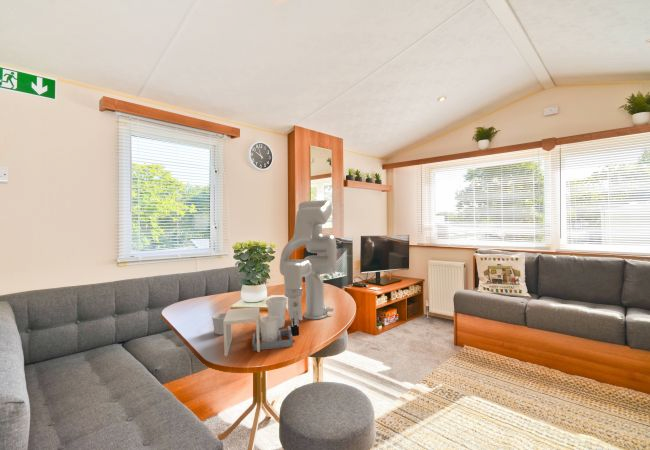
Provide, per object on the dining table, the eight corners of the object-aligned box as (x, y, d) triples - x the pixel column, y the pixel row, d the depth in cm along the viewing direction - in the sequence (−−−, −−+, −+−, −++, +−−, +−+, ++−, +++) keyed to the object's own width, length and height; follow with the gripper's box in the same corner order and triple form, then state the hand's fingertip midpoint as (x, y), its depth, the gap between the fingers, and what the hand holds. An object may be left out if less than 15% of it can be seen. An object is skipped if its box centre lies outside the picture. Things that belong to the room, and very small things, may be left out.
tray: (290, 334, 134) (289, 325, 134) (292, 346, 122) (292, 336, 121) (253, 338, 131) (253, 329, 131) (252, 350, 118) (251, 340, 118)
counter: (260, 336, 133) (259, 306, 133) (259, 352, 117) (258, 318, 117) (229, 339, 130) (228, 309, 130) (224, 356, 115) (223, 321, 115)
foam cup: (285, 321, 151) (284, 295, 151) (289, 328, 143) (288, 300, 142) (266, 324, 148) (265, 298, 148) (269, 331, 139) (268, 302, 139)
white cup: (275, 347, 121) (275, 322, 121) (257, 346, 123) (256, 321, 123) (282, 339, 129) (282, 316, 129) (265, 338, 131) (264, 315, 131)
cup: (217, 328, 146) (216, 311, 145) (234, 327, 146) (233, 310, 146) (210, 336, 135) (210, 318, 135) (229, 335, 135) (228, 317, 135)
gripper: (305, 295, 121) (306, 341, 121) (300, 287, 136) (301, 328, 136) (286, 297, 119) (287, 343, 120) (283, 288, 134) (284, 329, 134)
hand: (295, 335), depth 128 cm, fingers closed
